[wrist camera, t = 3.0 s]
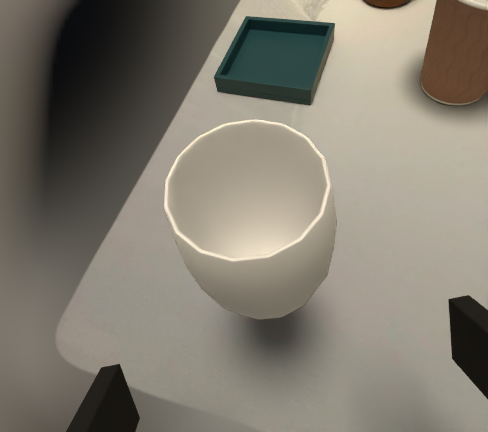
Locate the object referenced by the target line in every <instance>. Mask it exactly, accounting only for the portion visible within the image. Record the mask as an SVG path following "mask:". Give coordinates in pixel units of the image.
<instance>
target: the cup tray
mask: <svg viewBox="0 0 488 432" xmlns="http://www.w3.org/2000/svg"><path fill="white" fill-rule="evenodd" d="M334 29H335V23H326V22H313V21H300V20H288V19H275V18H262V17H250V16H246V17H245V19H244V21H243V23H242V25H241V27H240V29H239V30H238V32H237V34H236V36H235V38H234V40H233V42H232V44H231V46H230V48H229V49H228V51H227V53H226V55H225V57H224V59H223V61H222V63H221V65H220V67H219V68H218V70H217V72H216V74H215V76H214V79H215V83H216V87H217V91H218V92H225V93H231V94H238V95H245V96H252V97H259V98H266V99H273V100H280V101H287V102H293V103H300V104H307V105H311V103H312V100H313V97H314V94H315V91H316V88H317V85H318V83H319V80H320V77H321V74H322V71H323V68H324V65H325V62H326V60H327V57H328V54H329V51H330V48H331V45H332V42H333V39H334Z"/></svg>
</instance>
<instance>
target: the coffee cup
mask: <svg viewBox="0 0 488 432" xmlns="http://www.w3.org/2000/svg"><path fill="white" fill-rule="evenodd" d="M421 86H422V88H423V90H424V92H425V93H426V94H427V95H428V96H429V97H431V98H432V99H434V100H435V101H437V102H440V103H443V104H447V105H466V104H470V103H473V102H475V101H477V100H479V99H480V98H481V97H482V96H483V95H484V94H485V93H486V92H488V0H437V2H436V6H435V11H434V16H433V20H432V25H431V29H430V34H429V39H428V43H427V48H426V53H425V57H424V62H423V67H422V71H421Z"/></svg>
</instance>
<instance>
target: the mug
mask: <svg viewBox="0 0 488 432" xmlns="http://www.w3.org/2000/svg"><path fill="white" fill-rule="evenodd" d="M366 1H367V2H368V3H370V4H372V5H375V6H378V7H395V6H399V5H402V4H404V3H406V2H408V1H409V0H366Z"/></svg>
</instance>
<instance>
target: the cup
mask: <svg viewBox="0 0 488 432" xmlns="http://www.w3.org/2000/svg"><path fill="white" fill-rule="evenodd" d="M164 211H165V213H166V216H167V219H168V222H169V224H170V227H171V230H172V233H173V235H174V238H175V241H176V243H177V246H178V248H179V250H180V252H181V255H182V257H183V259H184V262H185V264H186V266H187V268H188V270H189V271H190V273H191V274H192V276H193V277H194V278H195V280H196V281H197V283H198V284H199V286H200V287H201V289H202V290H203V291H205V292H206V293H207V294H208V295H209V296H210V297H211V298H213V299H214V300H215V301H216V302H217V303H218V304H219V305H220V306H222V307H223V308H225V309H228V310H230V311H233V312H235V313H238V314H241V315H245V316H248V317H251V318H254V319H257V320H259V319H270V318H280V317H283V316H285V315H287V314H289V313H291V312H293V311H294V310H296V309H298V308H300V307H302V306H303V305H304V304H305V303H306V302H307V301H308V300H309V298H310V297H311V296H312V295H313V293H314V292H315V291H316V289H317V288H318V287H319V286H320V284H321V283H322V282H323V280H324V279H325V278H326V277H327V275H328V271H329V266H330V262H331V258H332V254H333V249H334V242H335V233H336V225H337V219H336V212H335V204H334V197H333V190H332V184H331V180H330V175H329V171H328V167H327V162H326V159H325V158H324V156H323V155H322V154H321V153H320V152H319V150H318V149H317V148H316V147H315V145H314V144H313V143H312V142H311V140H310V139H309V138H308V137H307V136H305V135H303V134H301V133H299V132H297V131H296V130H294V129H292V128H290V127H288V126H286V125H284V124H282V123H275V122H269V121H262V120H256V119H253V120H246V121H240V122H233V123H226V124H223V125H221V126H219V127H217V128H215V129H213V130H211V131H209V132H207V133H204V134H202V135H200V136H198V137H197V138H196V139H195V140H194V141H193V142H192V143H191V144H190V145H189V146H188V147H187V148H186V149H185V150H184V151H182V152H181V153H180V154H179V155H178V157H177V159H176V161H175V163H174V165H173V167H172V169H171V171H170V173H169V175H168V177H167V179H166V181H165V197H164Z"/></svg>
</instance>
